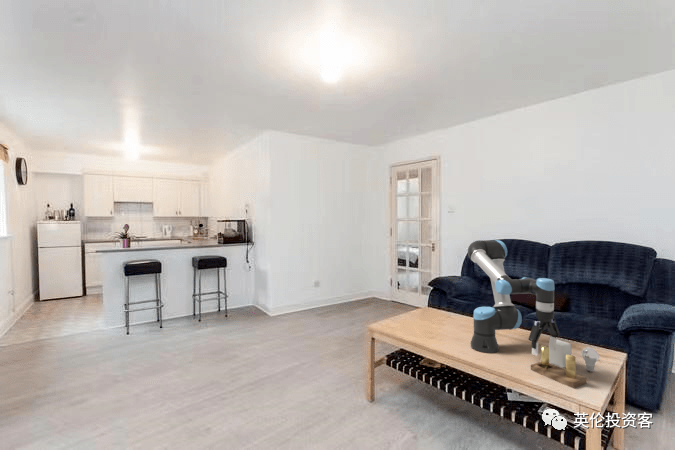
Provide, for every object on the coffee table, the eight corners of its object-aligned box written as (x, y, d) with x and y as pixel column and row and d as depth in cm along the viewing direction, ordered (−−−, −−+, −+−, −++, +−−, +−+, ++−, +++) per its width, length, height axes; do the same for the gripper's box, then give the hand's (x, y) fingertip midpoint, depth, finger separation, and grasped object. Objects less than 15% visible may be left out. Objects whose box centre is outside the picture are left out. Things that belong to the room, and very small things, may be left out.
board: (530, 369, 164) (530, 346, 164) (543, 365, 168) (543, 342, 168) (573, 388, 146) (573, 361, 146) (586, 383, 150) (586, 357, 150)
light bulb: (591, 368, 165) (591, 344, 165) (602, 374, 158) (602, 350, 158) (577, 368, 165) (577, 345, 164) (588, 375, 158) (588, 350, 157)
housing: (548, 362, 172) (548, 341, 172) (557, 359, 175) (557, 339, 175) (562, 367, 166) (562, 346, 166) (571, 365, 169) (571, 343, 168)
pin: (539, 370, 163) (539, 346, 163) (543, 368, 165) (543, 345, 165) (546, 373, 160) (546, 349, 160) (550, 371, 162) (550, 347, 161)
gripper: (535, 315, 153) (534, 360, 154) (568, 308, 164) (567, 350, 165) (520, 311, 160) (520, 353, 161) (553, 304, 171) (552, 344, 172)
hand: (543, 352), depth 163 cm, fingers open, 13 cm apart
